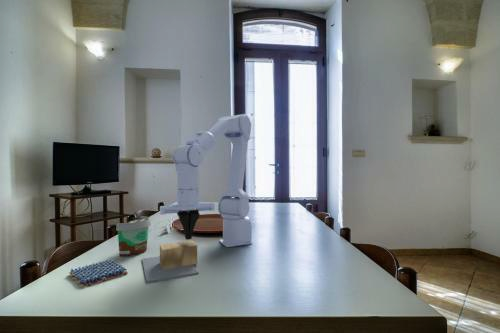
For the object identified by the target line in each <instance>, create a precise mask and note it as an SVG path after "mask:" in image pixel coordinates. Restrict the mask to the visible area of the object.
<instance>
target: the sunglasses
mask: <svg viewBox="0 0 500 333" xmlns="http://www.w3.org/2000/svg"><path fill="white" fill-rule="evenodd" d="M162 222H165V226H161V227H160V229H163V228H166V232H167V233H168V234H170V233H171V229H173V228H172V223H173V224H174V222H173V217H172V216H171V217H169V220H168V219H166V220H164V221H162ZM160 223H161V221H159V222H158V224H160ZM156 225H157V224H155V225H154V227H157V226H156ZM157 229H158V230H159V228H156V230H157ZM151 231H152V229H150V230H148V233H149V232H151Z"/></svg>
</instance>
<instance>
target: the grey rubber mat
mask: <svg viewBox="0 0 500 333" xmlns="http://www.w3.org/2000/svg"><path fill="white" fill-rule="evenodd" d="M141 261H142V266H143V272H144V275H145V281H146V282H145V283H146V284H149V283H155V282H156V283H157V282H161V281H165V280H171V279H178V278H182V277H188V276H194V275H199V271H198V269H197V268H196V266H195V264H194V265H188V266H181V267H175V268H169V269H163V270H162V267H161V265H160V255H157V256H154V257H153V256H151V257H145V258H142V259H141Z"/></svg>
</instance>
